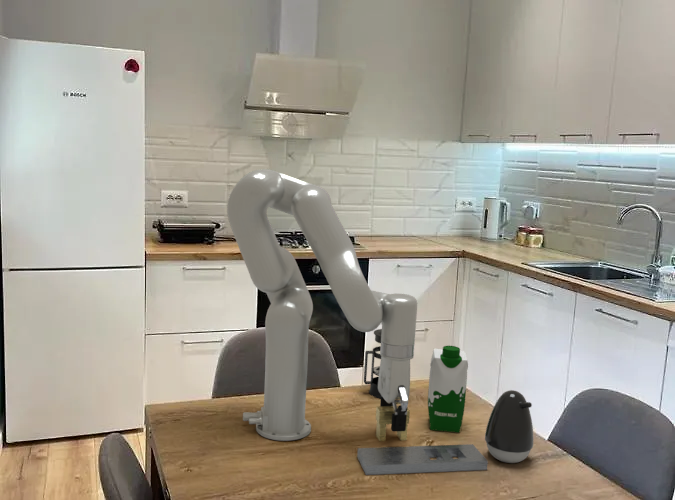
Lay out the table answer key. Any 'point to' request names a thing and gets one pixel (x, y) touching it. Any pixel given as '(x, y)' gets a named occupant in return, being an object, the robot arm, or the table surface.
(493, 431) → the pump dispenser
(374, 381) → the french press
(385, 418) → the tan wooden block
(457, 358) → the milk carton
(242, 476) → the table surface
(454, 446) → the grey flat board
